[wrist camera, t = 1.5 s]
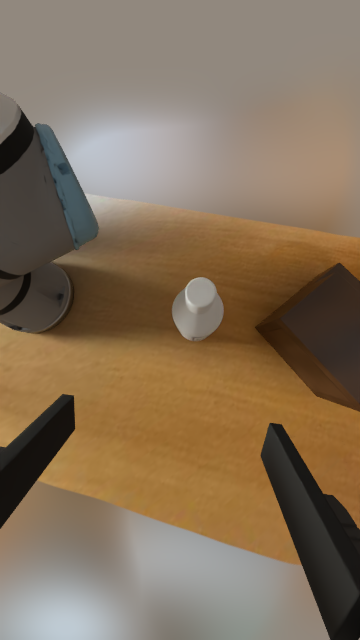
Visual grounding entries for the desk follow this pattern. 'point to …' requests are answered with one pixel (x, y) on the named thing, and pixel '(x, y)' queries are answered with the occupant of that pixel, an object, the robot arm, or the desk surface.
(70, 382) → the desk surface
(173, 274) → the desk surface
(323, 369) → the stepped brown block
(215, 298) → the bath foam
